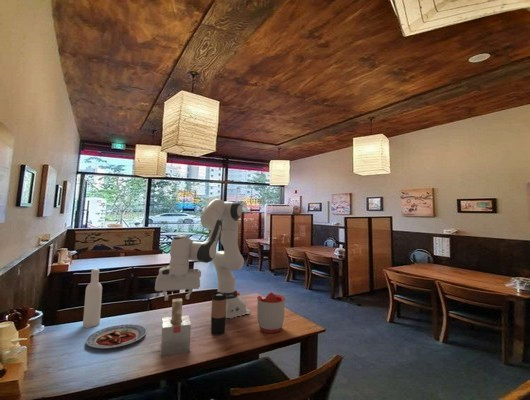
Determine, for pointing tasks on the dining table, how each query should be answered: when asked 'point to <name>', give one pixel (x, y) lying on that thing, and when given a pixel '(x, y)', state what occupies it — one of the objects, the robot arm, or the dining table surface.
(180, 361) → the dining table surface
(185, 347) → the sleeve block
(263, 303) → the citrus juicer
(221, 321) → the travel mug
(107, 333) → the ceramic plate
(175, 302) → the birch post
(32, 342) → the dining table surface
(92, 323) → the bottle
